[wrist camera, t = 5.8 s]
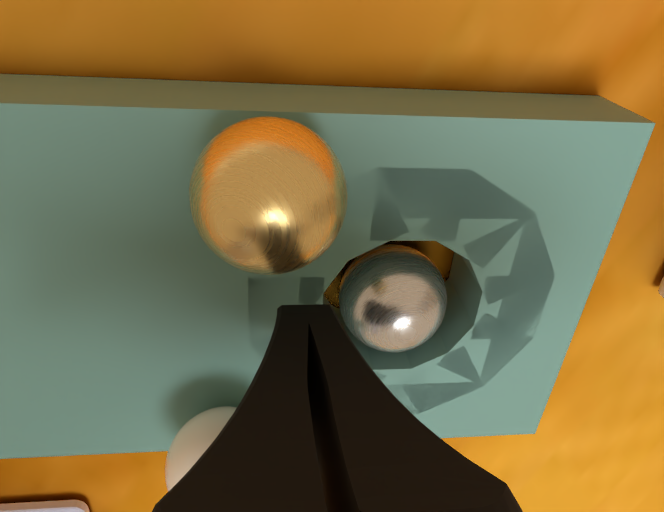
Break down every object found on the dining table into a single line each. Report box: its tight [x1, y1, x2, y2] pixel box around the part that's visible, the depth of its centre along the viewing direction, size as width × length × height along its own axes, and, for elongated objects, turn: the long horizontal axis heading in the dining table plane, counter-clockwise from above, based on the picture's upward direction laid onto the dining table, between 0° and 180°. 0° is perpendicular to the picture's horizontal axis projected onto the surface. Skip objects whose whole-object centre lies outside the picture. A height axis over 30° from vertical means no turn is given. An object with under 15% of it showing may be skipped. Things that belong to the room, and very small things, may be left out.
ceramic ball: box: [165, 406, 237, 492], centre depth 15 cm, size 3×3×3 cm
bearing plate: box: [0, 74, 655, 459], centre depth 15 cm, size 19×11×2 cm, turn 86°
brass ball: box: [189, 116, 348, 275], centre depth 11 cm, size 3×3×3 cm
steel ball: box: [339, 244, 447, 352], centre depth 16 cm, size 3×3×3 cm
